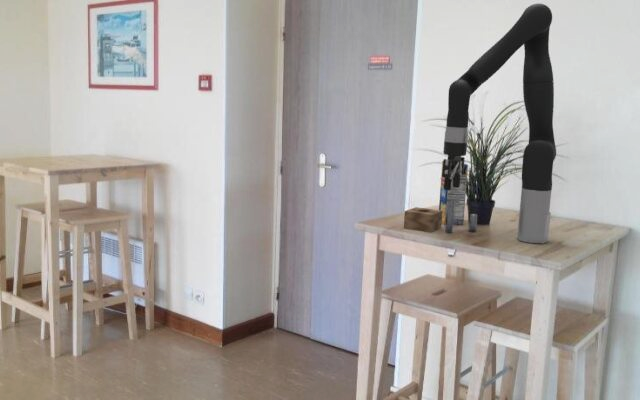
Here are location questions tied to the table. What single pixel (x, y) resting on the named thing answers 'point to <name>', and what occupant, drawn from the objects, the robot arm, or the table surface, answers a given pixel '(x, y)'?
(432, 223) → the hole block
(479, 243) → the table surface
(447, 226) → the long pin
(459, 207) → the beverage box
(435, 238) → the table surface
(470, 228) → the short pin
